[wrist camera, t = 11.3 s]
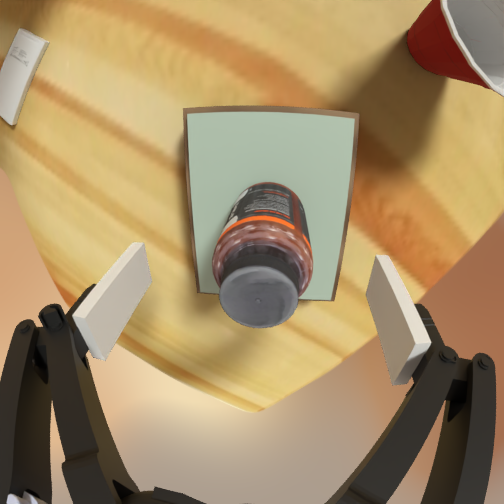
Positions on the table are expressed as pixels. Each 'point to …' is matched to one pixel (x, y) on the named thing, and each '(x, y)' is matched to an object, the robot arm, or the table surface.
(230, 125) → the walnut stand
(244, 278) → the supplement bottle
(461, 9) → the plastic cup
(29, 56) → the external hard drive
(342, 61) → the table surface
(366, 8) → the table surface
